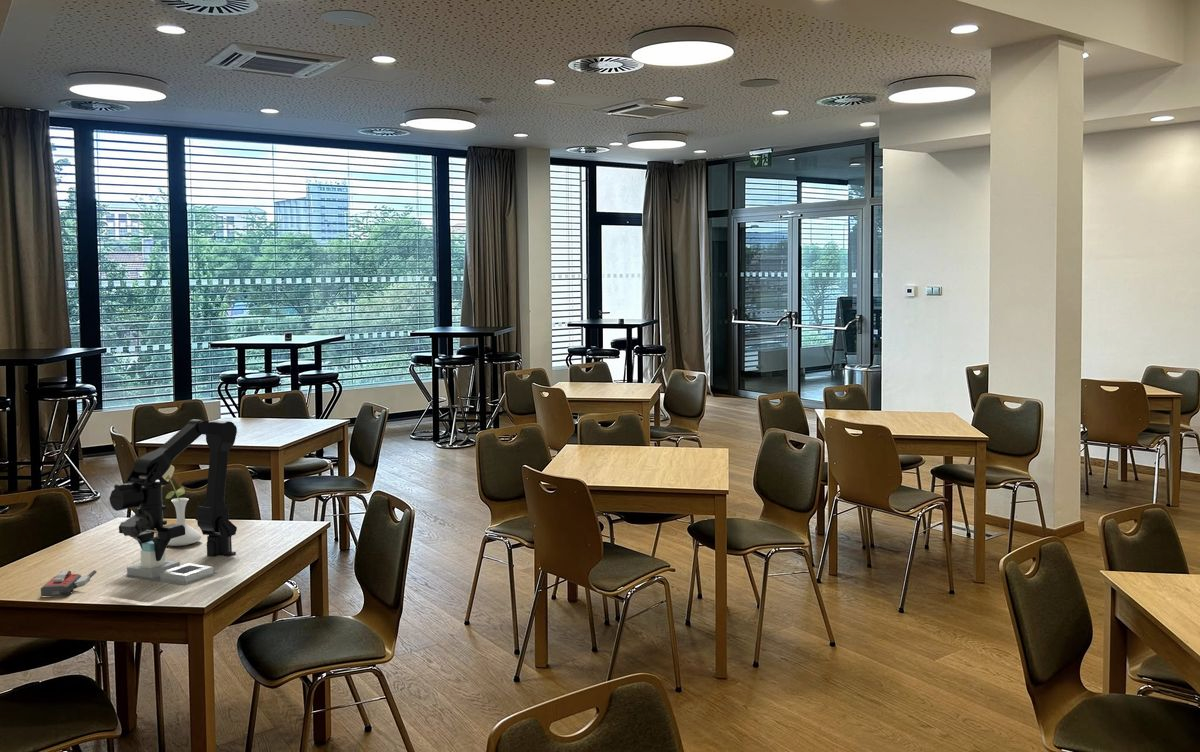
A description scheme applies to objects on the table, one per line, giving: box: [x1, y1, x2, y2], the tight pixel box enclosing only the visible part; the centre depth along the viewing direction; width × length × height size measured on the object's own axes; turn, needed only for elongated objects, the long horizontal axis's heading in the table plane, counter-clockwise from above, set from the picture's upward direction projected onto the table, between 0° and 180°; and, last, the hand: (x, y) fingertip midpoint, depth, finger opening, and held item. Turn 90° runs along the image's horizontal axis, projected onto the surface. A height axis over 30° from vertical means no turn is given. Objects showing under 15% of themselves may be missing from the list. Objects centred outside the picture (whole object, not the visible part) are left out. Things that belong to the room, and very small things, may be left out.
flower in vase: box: [162, 464, 202, 547], centre depth 298 cm, size 13×11×25 cm
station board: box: [122, 571, 218, 586], centre depth 264 cm, size 22×12×1 cm, turn 67°
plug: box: [140, 541, 166, 569], centre depth 266 cm, size 4×5×8 cm
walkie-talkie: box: [40, 569, 97, 597], centre depth 256 cm, size 9×4×20 cm
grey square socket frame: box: [126, 559, 181, 578], centre depth 266 cm, size 9×10×2 cm
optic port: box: [160, 562, 214, 584], centre depth 262 cm, size 9×10×2 cm
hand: (153, 560), depth 266 cm, fingers closed on plug, 3 cm apart
